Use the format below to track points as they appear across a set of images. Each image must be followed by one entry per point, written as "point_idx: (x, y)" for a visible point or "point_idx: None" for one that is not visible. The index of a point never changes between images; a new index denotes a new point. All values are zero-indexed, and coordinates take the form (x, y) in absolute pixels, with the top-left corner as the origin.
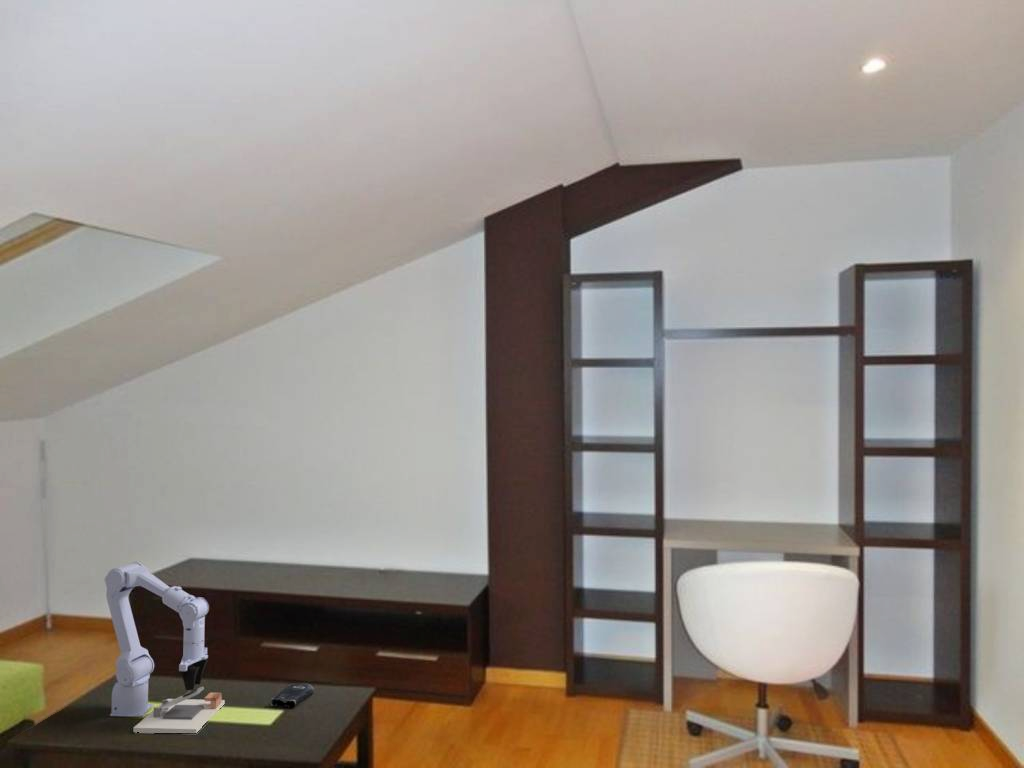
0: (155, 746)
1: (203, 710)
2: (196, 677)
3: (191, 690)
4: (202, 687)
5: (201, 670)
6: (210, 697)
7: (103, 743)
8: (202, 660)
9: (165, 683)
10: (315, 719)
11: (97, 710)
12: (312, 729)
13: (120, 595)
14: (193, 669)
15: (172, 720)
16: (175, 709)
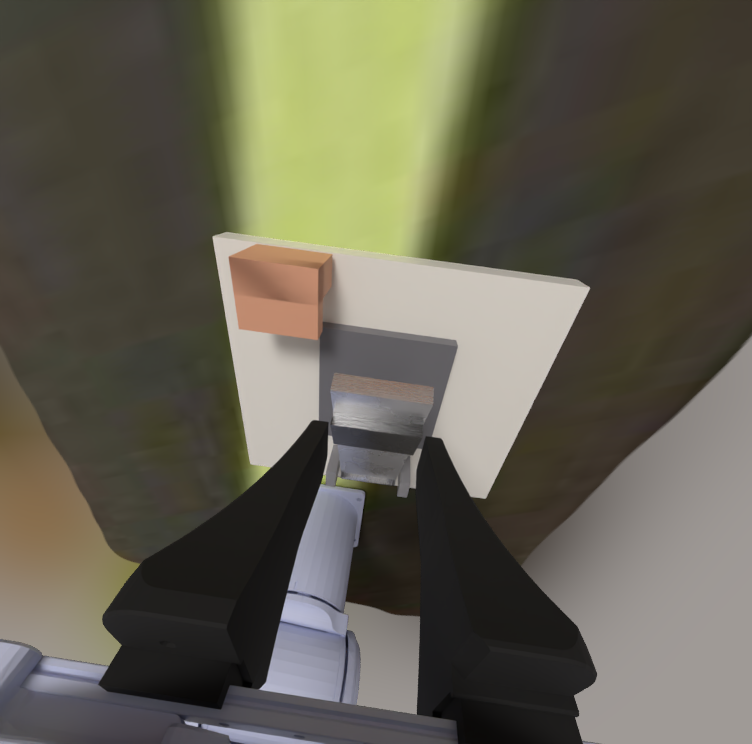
0: (631, 406)
1: (351, 314)
2: (313, 479)
3: (373, 436)
4: (347, 388)
5: (288, 508)
6: (311, 308)
7: (534, 525)
8: (236, 647)
9: (116, 483)
10: None
11: None
12: None
13: None
14: (593, 681)
15: (450, 410)
16: None
